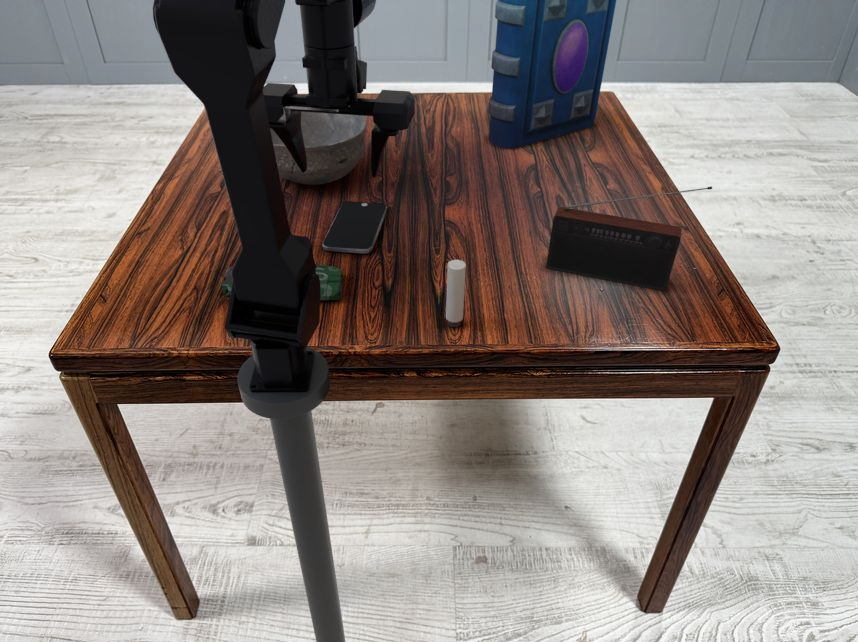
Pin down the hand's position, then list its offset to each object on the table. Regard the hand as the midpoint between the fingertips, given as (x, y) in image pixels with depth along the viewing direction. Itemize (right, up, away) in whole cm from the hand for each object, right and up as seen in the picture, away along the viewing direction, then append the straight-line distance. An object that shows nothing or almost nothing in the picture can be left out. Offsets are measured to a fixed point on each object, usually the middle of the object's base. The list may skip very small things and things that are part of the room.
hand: (339, 173), depth 83 cm
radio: (+38, -12, +9) cm, 41 cm away
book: (+35, +21, +49) cm, 64 cm away
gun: (-8, -13, +8) cm, 18 cm away
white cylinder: (+15, -19, +1) cm, 24 cm away
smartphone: (0, -3, +19) cm, 20 cm away
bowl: (-9, +9, +34) cm, 36 cm away
